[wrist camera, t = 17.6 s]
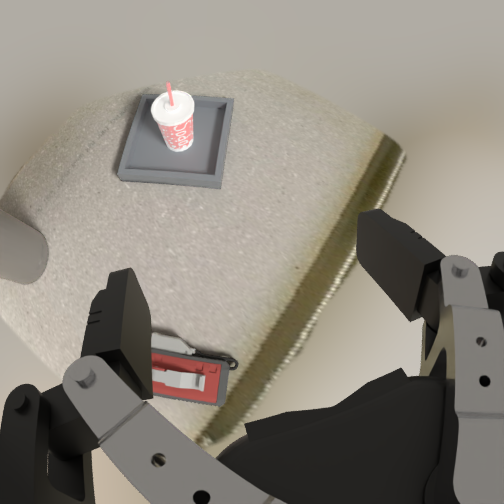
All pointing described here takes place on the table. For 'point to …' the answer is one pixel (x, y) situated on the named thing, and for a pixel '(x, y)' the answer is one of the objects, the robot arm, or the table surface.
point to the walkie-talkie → (188, 372)
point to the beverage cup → (175, 118)
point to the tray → (183, 162)
